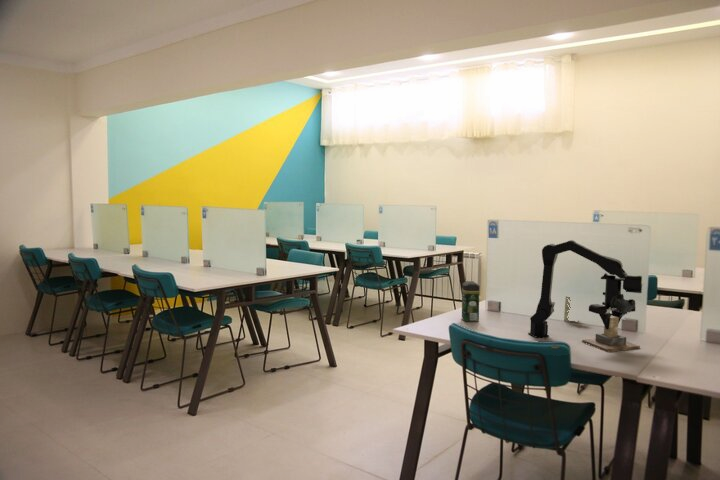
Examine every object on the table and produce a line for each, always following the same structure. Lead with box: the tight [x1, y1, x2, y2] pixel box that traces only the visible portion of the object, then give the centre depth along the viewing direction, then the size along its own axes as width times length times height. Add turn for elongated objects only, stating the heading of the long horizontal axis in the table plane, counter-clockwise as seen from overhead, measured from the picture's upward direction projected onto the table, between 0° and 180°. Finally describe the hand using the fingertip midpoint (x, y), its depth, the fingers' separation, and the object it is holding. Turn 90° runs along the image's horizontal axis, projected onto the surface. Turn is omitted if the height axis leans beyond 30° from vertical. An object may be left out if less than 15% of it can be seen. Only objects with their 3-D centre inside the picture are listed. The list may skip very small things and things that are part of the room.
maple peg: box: [603, 315, 619, 338], centre depth 218 cm, size 4×4×8 cm
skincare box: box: [563, 295, 571, 322], centre depth 259 cm, size 6×4×12 cm
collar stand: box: [581, 332, 641, 353], centre depth 219 cm, size 16×14×4 cm
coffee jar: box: [461, 280, 481, 323], centre depth 260 cm, size 10×8×19 cm
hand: (611, 328), depth 219 cm, fingers closed on maple peg, 4 cm apart
